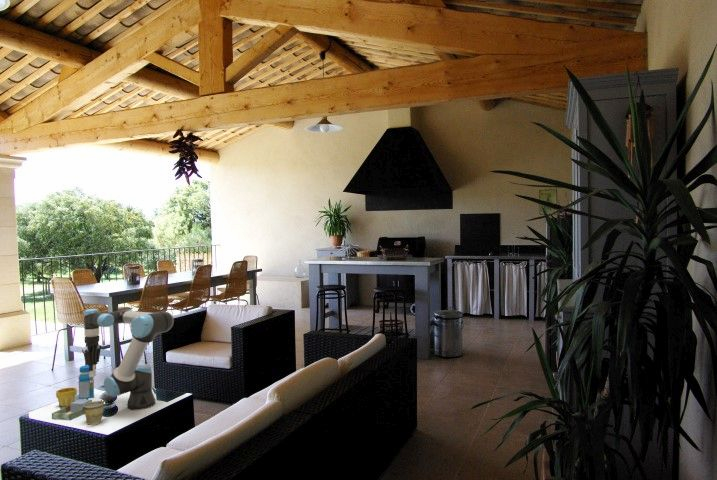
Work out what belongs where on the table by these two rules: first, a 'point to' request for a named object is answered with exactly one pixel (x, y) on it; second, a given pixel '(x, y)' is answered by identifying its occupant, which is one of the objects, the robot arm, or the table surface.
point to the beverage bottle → (85, 383)
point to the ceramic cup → (94, 411)
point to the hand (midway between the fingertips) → (92, 375)
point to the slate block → (78, 404)
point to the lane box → (67, 413)
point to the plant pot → (66, 396)
